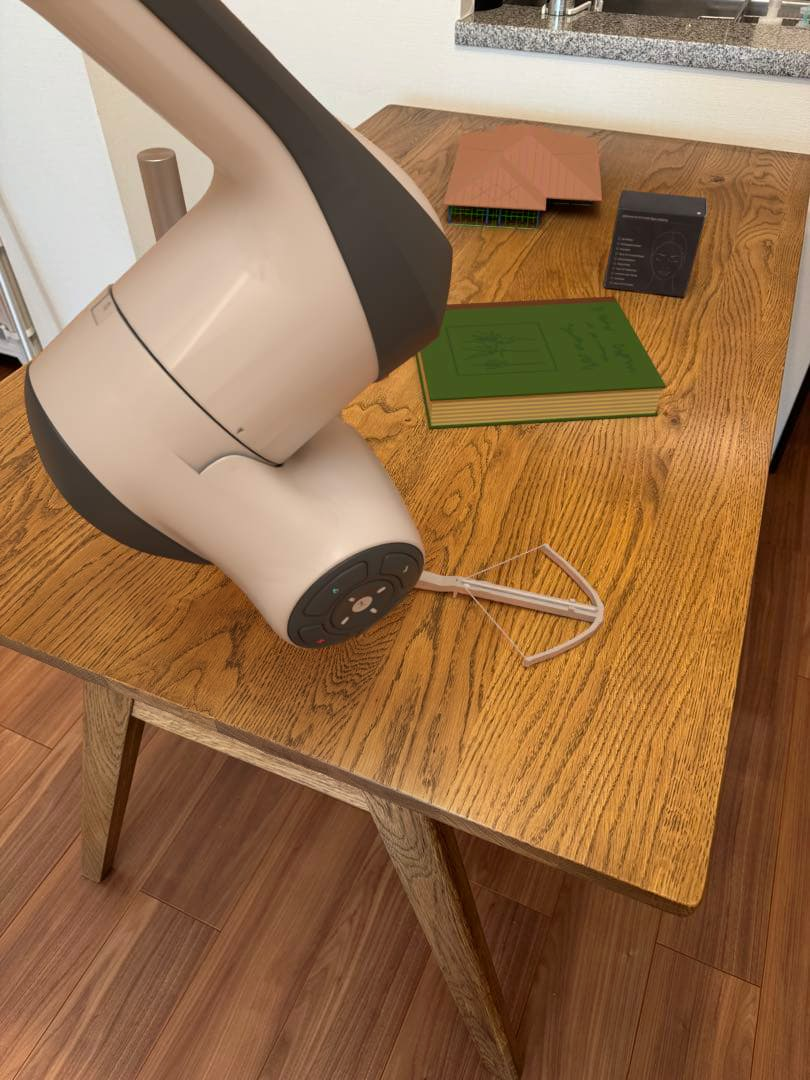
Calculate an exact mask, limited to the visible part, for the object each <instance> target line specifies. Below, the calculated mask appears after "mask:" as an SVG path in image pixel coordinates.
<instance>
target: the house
mask: <svg viewBox="0 0 810 1080" xmlns="http://www.w3.org/2000/svg"><path fill="white" fill-rule="evenodd" d="M601 180H602V179H601V168H600V155H599V141H598V139H597V138H592V137H585V136H579V135H574V134H567V133H562V132H556V131H553V128H551V127H546V126H539V125H535V124H529V123H513V124H503V125H496V126H495V130H486V131H485V130H484V131H471V132H462V133H461V137H460V140H459V143H458V147H457V151H456V155H455V158H454V163H453V166H452V170H451V173H450V176H449V180H448V184H447V187H446V192H445V195H444V198H443V202H442V205H443V206H448V219H447V220H448V221H447V225H453V226H454V225H455V226H470V227H481V224H480V225H479V224H478V220H476V221H475V223H476V224H467V221H465V224H463V223H462V224H461V223H450V222H451V219H452V215H453V214H458V215H460V217H459V222H462V221H461V218H462V214H463V215H464V214H465V215H468V212H456V211H457V210H459V211H472V208H476V212H478V211H479V212H480V211H481V212H485V213H476V216H482V217H481V220H483V219H484V216H485V225H484V227H487V228H488V227H489V228H505V229H515V227H514V226H513V227H512V226H511V225H512V224H510V226H501V219H502V217H507V214H502V213H508V209H510V210H511V213H512V214H511V215H508V217H510V219H512V217H513V213H516V214H517V215H514V217H516V218H521V221H523V220H524V218H526V216H524V215H522V216H518V214H525V212H524V210H526V211H527V219H533V220H532V222H534V219H535V218H536V228H535V230H538V229H539V228H538V227H539V219H540V212H541V211H546V209H547V204H549V202H548V201H547V199H550V200H552V199H553V200H554V201H556V200H560V201H559V202H554V204H555V205H568V203H567V201H564V202H565V203H564V202H561V201H562V200H570V201H575V203H572V205H575V206H588V203H586V204H582V203H583V202H582V201H587V202H588V201H589V202H590V206H593V202H603V193H602V181H601ZM577 201H580V204H579V203H577ZM457 207H458V208H457ZM459 207H463V208H459ZM468 207H471V209H470V208H468ZM481 208H486V209H481ZM490 209H493V212H492V214H491V217H494V214H495V217H498V224H497V221H495V223H494V221H492V224H491V225H488V221H489V216H490ZM495 209H496V211H495ZM498 209H499V214H497V213H498ZM503 209H506V210H505V211H504V210H503ZM514 210H517V211H514ZM519 210H522V211H519ZM530 211H533V212H530ZM494 212H495V213H494ZM529 214H531V215H537V216H529ZM473 215H474V213H473V212H471V213H470V217H471V218H470V220H472V217H473ZM506 222H507V218H505V222H504V224H506ZM517 223H518V220H516V222H515V225H517ZM528 224H529V221H527V224H526V226H528ZM494 225H495V226H494ZM496 225H497V226H496ZM518 229H519V230H520V229H522V230H534V226H532V228H531V227H530V228H529V227H523V225H521V226H520V227H518Z"/></svg>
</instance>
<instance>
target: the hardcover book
mask: <svg viewBox="0 0 810 1080" xmlns="http://www.w3.org/2000/svg"><path fill="white" fill-rule="evenodd" d="M414 357H415V361H416V366H417V372H418V377H419V382H420V388H421V393H422V397H423V403H424V410H425V414H426V419H427V425H428V430H442V429H456V428H459V429H460V428H461V429H462V428H475V427H493V426H509V425H510V426H511V425H526V424H527V425H529V424H546V423H563V422H579V421H581V422H582V421H592V420H593V421H597V420H614V419H615V420H616V419H630V418H632V419H633V418H644V417H645V418H647V417H649V418H650V417H658V416H659V412H658V410H657V408H658V404H659V401H660V397H661V394H662V391H663V390H662V389H666V388H667V384H666V383H665V381H664V380H663V377H662V376H661V374H660V373H659V371H658V369H657V368H656V366H655V364H654V362H653V360H652V359H651V357H650V355H649V354H648V352H647V350H646V348H645V346H644V345H643V343H642V341H641V339H640V338H639V336H638V334H637V332H636V331H635V329H634V327H633V325H632V324H631V323H630V321H629V319H628V317H627V315H626V314H625V311H624V310H623V308H622V307H621V305H620V303H619V301H618V300H617V298H616V297H615V296H596V297H575V298H574V297H573V298H554V299H533V300H532V299H531V300H530V299H529V300H511V301H510V300H509V301H491V302H471V303H449V304H448V303H447V306H446V310H445V315H444V319H443V322H442V326H441V330H440V334H439V337H438V338H437V339H436V340H434V341H433V342H432V343H430V344H429V345H428V346H426V347H425V348H424V349H422V350H421V351H420V352H418V353H417V354H416V355H414Z"/></svg>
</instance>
